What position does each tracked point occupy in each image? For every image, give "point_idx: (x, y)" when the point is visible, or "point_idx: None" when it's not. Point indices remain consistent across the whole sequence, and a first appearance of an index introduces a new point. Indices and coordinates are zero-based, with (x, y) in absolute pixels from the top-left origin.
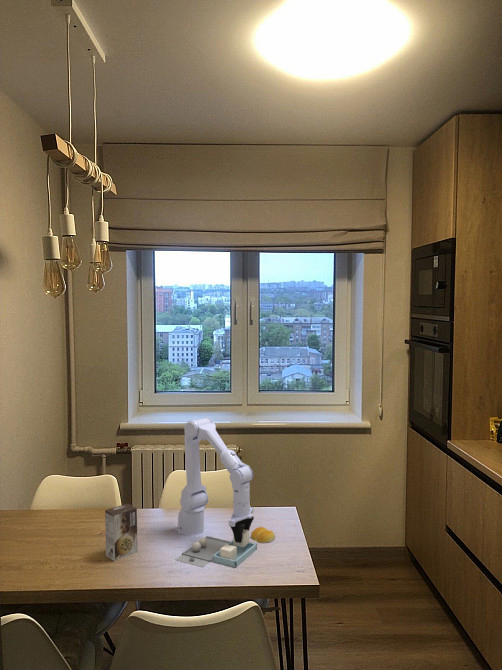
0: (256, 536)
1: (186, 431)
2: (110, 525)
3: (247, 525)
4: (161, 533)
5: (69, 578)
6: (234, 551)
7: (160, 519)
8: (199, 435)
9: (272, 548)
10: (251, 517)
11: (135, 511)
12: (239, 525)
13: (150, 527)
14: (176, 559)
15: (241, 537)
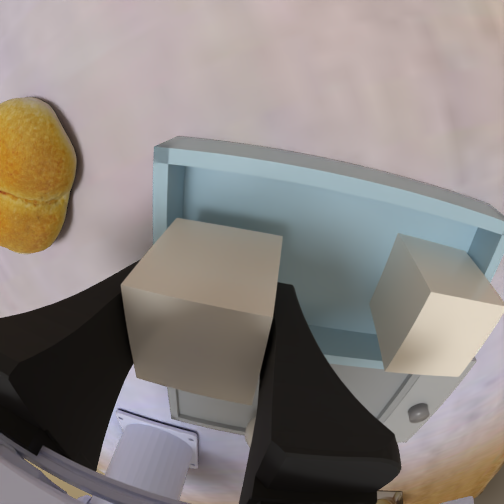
0: (44, 208)
1: None
2: None
3: (92, 341)
4: (217, 482)
5: (459, 490)
6: (452, 281)
7: None
8: None
9: (101, 51)
10: (48, 495)
11: None
12: (375, 484)
13: (199, 491)
14: (405, 440)
15: (293, 313)
